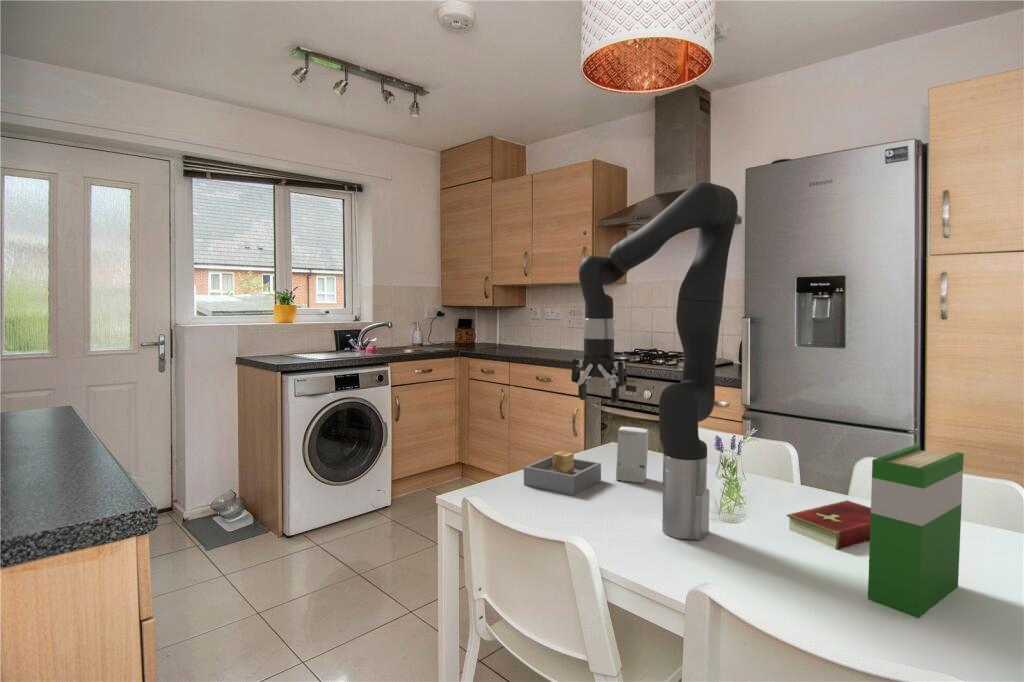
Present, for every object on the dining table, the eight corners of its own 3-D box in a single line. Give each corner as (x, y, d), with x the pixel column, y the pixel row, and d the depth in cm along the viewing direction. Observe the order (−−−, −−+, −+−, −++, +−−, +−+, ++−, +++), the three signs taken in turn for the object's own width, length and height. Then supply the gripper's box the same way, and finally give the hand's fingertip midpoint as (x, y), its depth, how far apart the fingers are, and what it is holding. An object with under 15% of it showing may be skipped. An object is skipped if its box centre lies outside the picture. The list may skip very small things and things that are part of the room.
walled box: (600, 480, 164) (601, 463, 164) (573, 495, 151) (574, 476, 150) (553, 471, 173) (553, 455, 173) (523, 484, 160) (523, 467, 160)
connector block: (573, 480, 162) (573, 453, 162) (566, 484, 159) (566, 456, 158) (560, 478, 165) (560, 450, 164) (552, 482, 161) (552, 454, 161)
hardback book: (909, 571, 107) (914, 444, 105) (958, 586, 101) (963, 453, 99) (867, 599, 97) (872, 459, 95) (918, 618, 91) (924, 469, 89)
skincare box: (615, 480, 163) (616, 429, 162) (619, 475, 169) (619, 425, 168) (645, 483, 160) (646, 431, 160) (648, 477, 166) (648, 427, 165)
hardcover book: (899, 534, 125) (899, 515, 125) (837, 552, 116) (838, 532, 116) (846, 516, 136) (847, 499, 136) (786, 531, 127) (786, 513, 127)
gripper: (566, 336, 143) (566, 400, 144) (619, 338, 135) (618, 406, 136) (580, 335, 149) (580, 396, 150) (631, 336, 141) (631, 401, 142)
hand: (598, 401), depth 143 cm, fingers open, 8 cm apart
